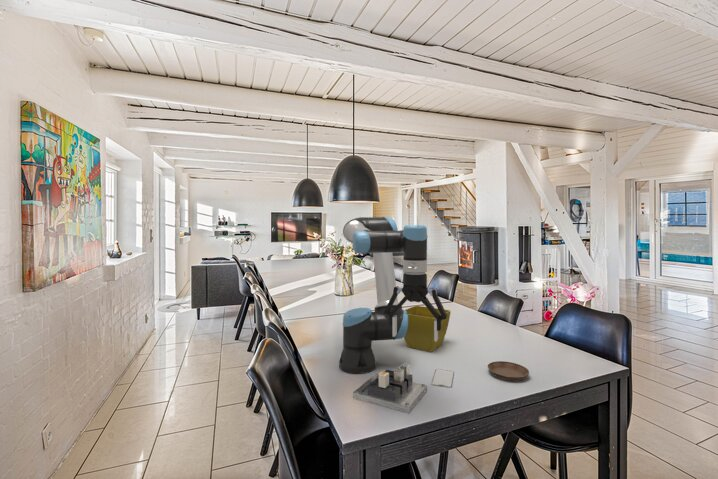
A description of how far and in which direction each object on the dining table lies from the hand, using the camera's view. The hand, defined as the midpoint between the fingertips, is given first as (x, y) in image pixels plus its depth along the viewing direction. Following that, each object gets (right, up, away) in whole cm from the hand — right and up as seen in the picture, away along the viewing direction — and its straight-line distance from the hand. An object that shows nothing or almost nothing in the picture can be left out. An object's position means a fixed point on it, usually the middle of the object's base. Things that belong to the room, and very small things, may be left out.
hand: (414, 337), depth 117 cm
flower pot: (+13, -19, +55) cm, 60 cm away
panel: (-7, -21, +6) cm, 23 cm away
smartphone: (+14, -21, +19) cm, 32 cm away
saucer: (+39, -21, +22) cm, 50 cm away
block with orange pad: (-10, -16, +2) cm, 19 cm away
